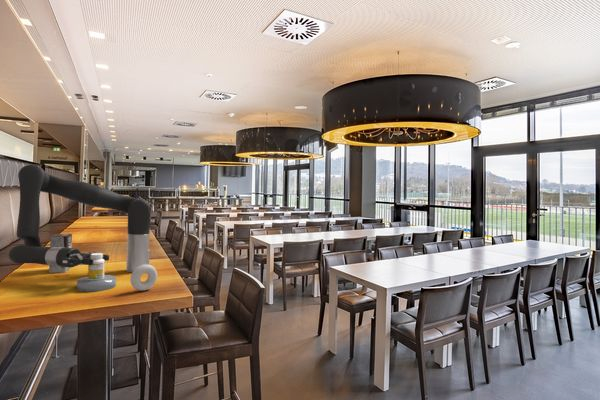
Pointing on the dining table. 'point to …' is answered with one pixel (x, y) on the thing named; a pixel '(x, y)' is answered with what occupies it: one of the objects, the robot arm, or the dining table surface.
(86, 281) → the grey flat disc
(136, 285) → the donut
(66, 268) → the coffee box
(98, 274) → the supplement bottle
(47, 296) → the dining table surface
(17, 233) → the robot arm
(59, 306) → the dining table surface
